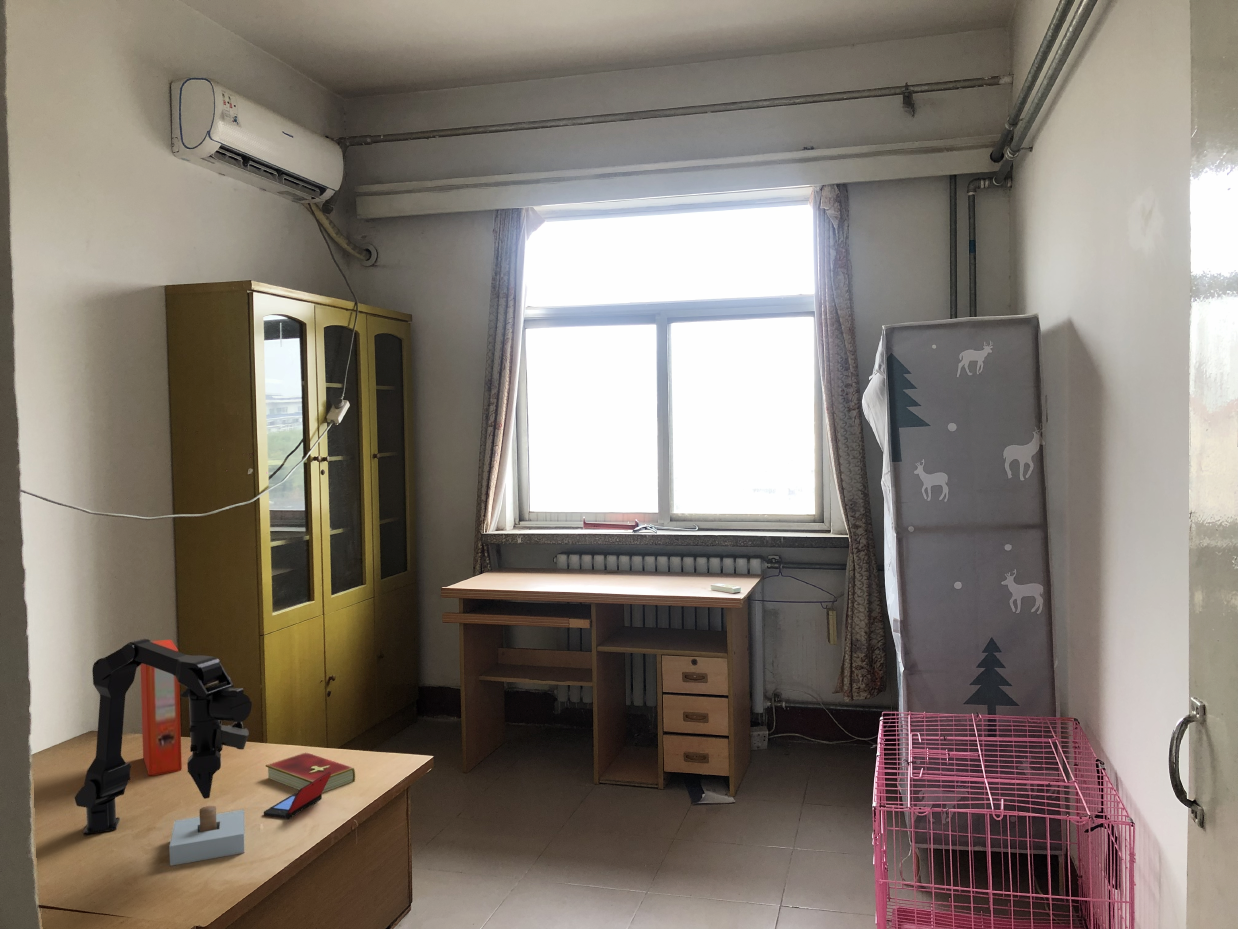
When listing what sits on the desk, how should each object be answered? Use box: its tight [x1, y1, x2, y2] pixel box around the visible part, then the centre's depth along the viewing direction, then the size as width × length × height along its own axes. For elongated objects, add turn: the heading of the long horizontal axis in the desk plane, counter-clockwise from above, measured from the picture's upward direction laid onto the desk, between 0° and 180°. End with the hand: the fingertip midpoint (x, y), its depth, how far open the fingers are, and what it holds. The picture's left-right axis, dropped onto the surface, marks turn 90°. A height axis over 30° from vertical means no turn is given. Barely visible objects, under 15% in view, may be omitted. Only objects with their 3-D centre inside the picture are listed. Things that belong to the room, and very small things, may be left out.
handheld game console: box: [263, 772, 331, 820], centre depth 215 cm, size 12×11×7 cm
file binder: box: [140, 639, 183, 776], centre depth 248 cm, size 8×17×32 cm, turn 32°
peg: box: [198, 805, 217, 832], centre depth 196 cm, size 3×3×8 cm
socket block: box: [169, 809, 246, 867], centre depth 196 cm, size 14×14×4 cm
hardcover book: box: [265, 751, 356, 793], centre depth 233 cm, size 12×21×4 cm, turn 52°
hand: (207, 790), depth 195 cm, fingers open, 9 cm apart
